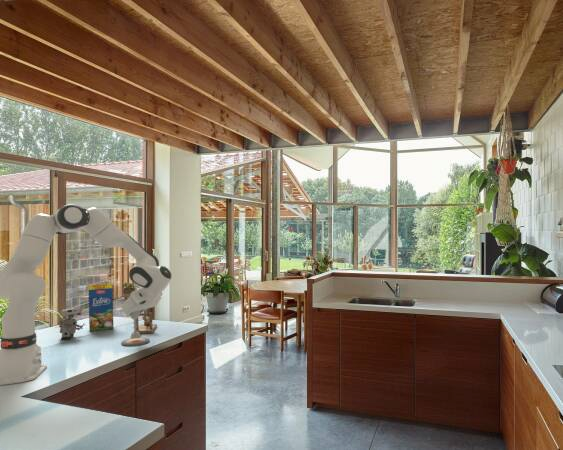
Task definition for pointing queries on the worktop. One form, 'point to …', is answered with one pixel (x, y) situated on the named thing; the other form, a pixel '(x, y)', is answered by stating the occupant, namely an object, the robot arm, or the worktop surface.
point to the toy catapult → (146, 324)
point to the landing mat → (135, 342)
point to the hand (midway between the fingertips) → (133, 314)
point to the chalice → (135, 316)
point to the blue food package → (100, 307)
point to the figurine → (69, 322)
